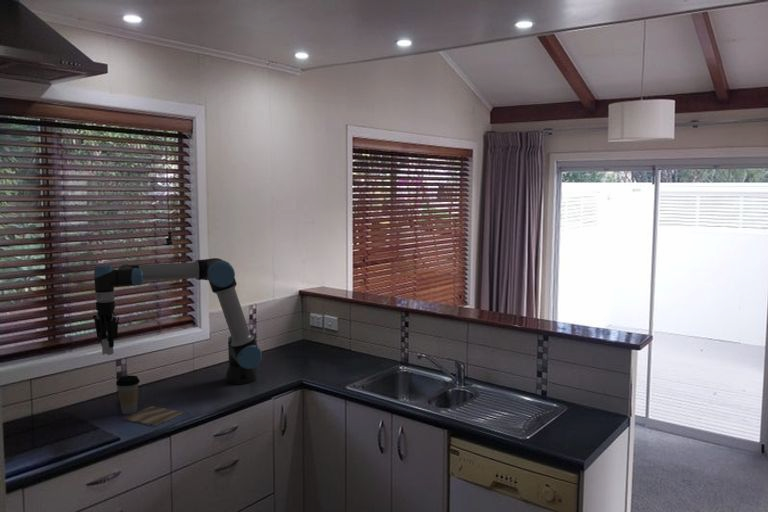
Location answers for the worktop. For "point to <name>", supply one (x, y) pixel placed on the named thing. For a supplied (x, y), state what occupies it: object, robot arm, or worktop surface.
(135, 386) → the coffee cup
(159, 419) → the brown striped mat
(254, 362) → the robot arm
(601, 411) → the worktop surface
